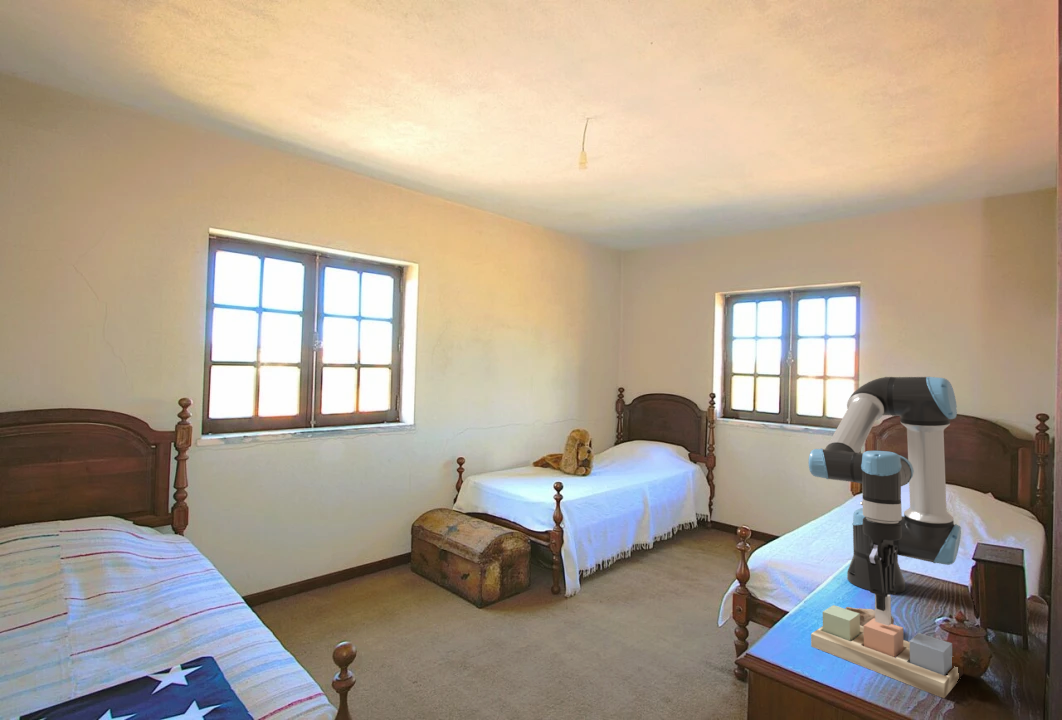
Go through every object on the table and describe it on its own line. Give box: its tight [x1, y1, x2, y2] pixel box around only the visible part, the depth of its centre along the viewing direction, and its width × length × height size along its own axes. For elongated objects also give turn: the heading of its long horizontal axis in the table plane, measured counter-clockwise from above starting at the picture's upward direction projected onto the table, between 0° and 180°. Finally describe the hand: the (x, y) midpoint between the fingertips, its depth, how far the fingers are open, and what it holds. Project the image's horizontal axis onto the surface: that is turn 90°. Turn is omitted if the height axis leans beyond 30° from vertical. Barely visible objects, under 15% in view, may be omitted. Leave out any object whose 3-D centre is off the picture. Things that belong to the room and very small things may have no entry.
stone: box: [844, 606, 895, 626], centre depth 138 cm, size 9×11×5 cm
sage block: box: [822, 604, 860, 641], centre depth 129 cm, size 6×6×5 cm
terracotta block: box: [864, 618, 904, 658], centre depth 122 cm, size 6×6×5 cm
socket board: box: [810, 625, 959, 699], centre depth 122 cm, size 14×26×3 cm, turn 38°
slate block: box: [909, 632, 953, 676], centre depth 115 cm, size 6×6×5 cm
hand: (883, 622), depth 122 cm, fingers closed
